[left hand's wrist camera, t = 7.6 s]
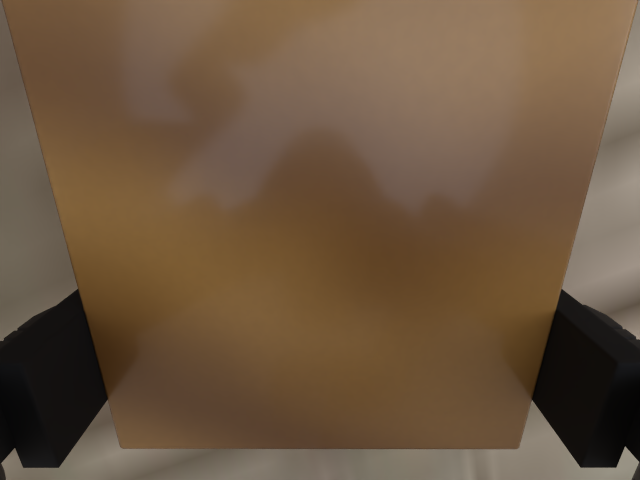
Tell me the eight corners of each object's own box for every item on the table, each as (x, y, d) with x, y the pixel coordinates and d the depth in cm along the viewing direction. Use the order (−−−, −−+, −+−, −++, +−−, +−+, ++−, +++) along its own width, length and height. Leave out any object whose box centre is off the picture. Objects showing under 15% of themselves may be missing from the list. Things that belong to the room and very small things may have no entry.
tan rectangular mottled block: (181, -106, 14) (-175, -643, 4) (458, -105, 14) (816, -644, 4) (221, 274, 20) (119, 450, 10) (418, 274, 20) (520, 450, 10)
